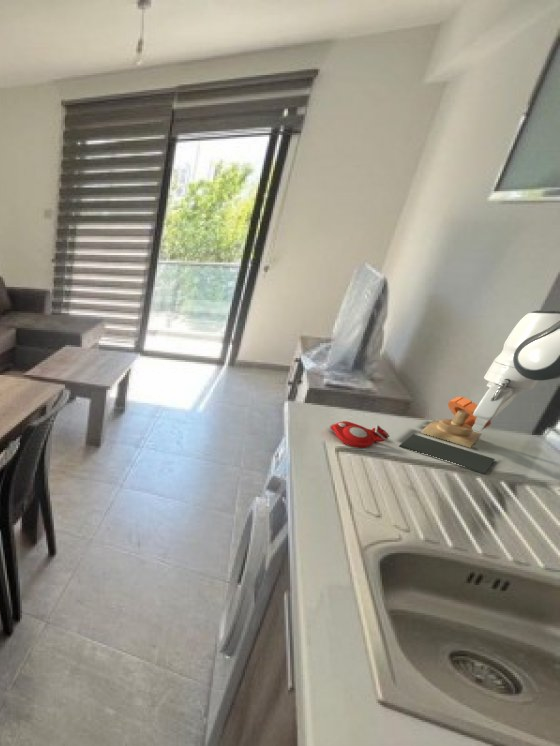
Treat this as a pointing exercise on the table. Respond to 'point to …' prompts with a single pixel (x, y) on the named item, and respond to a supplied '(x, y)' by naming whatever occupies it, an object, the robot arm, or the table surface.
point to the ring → (465, 409)
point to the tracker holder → (358, 434)
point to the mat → (448, 453)
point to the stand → (453, 430)
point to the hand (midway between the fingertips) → (479, 426)
